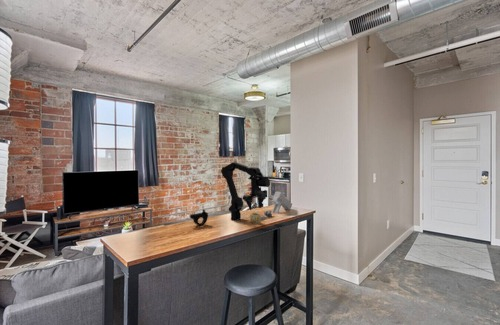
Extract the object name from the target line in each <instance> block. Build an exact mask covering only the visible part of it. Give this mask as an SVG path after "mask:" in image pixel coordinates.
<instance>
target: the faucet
mask: <svg viewBox="0 0 500 325" xmlns="http://www.w3.org/2000/svg"><path fill="white" fill-rule="evenodd" d="M271 202H273V203H274V207H273V209H272V214H273V213H274V214H279V212H280V209H281V207H282V208H283V209H284V210H287V211H289V210H290V211H291V208H292V206H293V203H292V202H291V201H290V200H289V199H288V198H287V197H286V196H285V195H284V194H283V192H282V191H275V192H274V194H273V198H272V200H271Z"/></svg>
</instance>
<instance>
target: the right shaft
mask: <svg viewBox="0 0 500 325" xmlns="http://www.w3.org/2000/svg"><path fill="white" fill-rule="evenodd" d="M263 213H264V216H265V217H269V218H271V217H272V216H273V210H272V209H269V210H265V211H264V212H263Z"/></svg>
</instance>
